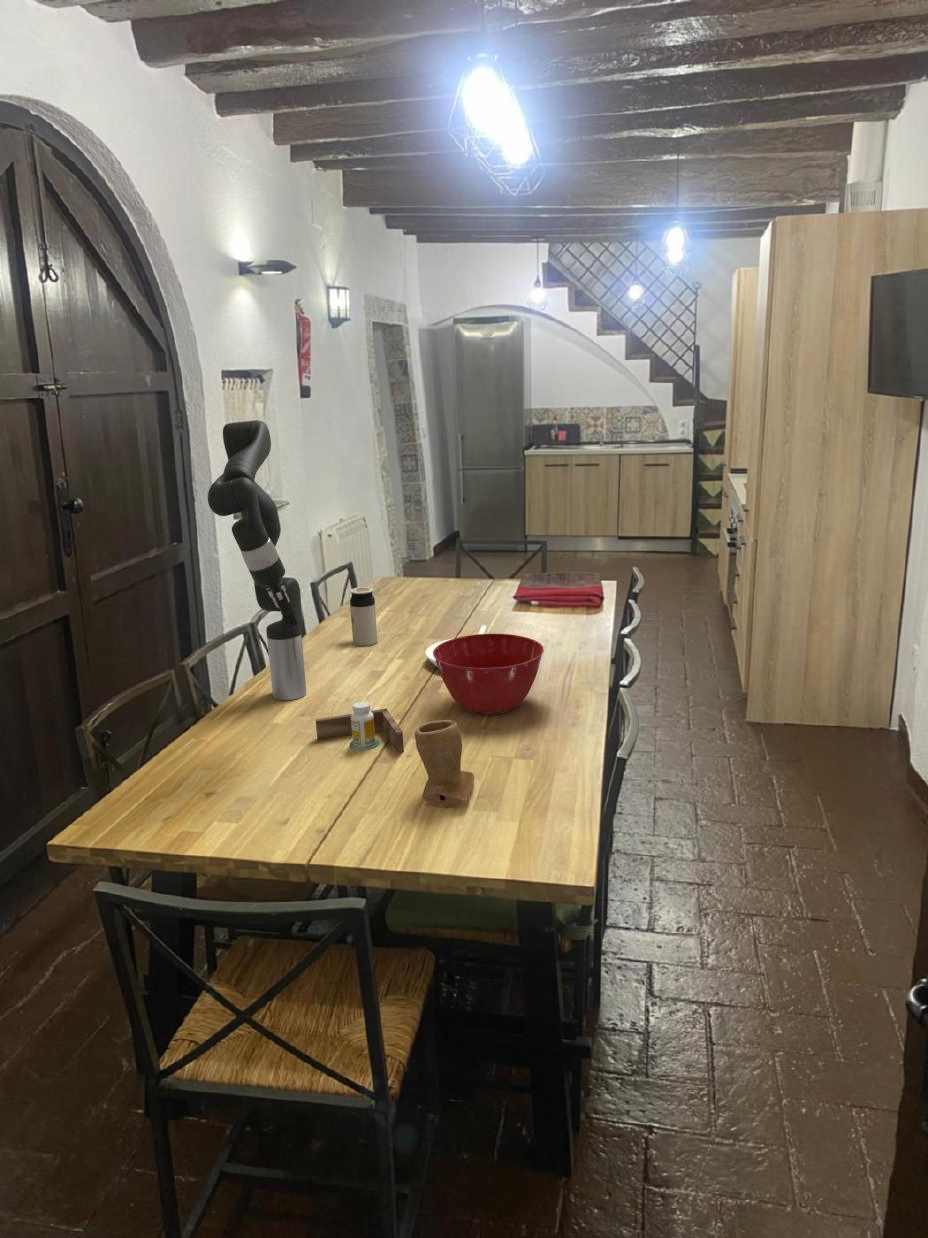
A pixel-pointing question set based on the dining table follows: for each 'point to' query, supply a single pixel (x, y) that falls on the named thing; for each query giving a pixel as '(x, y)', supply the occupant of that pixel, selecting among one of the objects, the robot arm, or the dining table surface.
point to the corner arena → (342, 728)
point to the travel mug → (363, 616)
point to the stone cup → (443, 763)
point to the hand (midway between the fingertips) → (289, 618)
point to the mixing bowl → (489, 670)
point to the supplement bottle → (362, 725)
